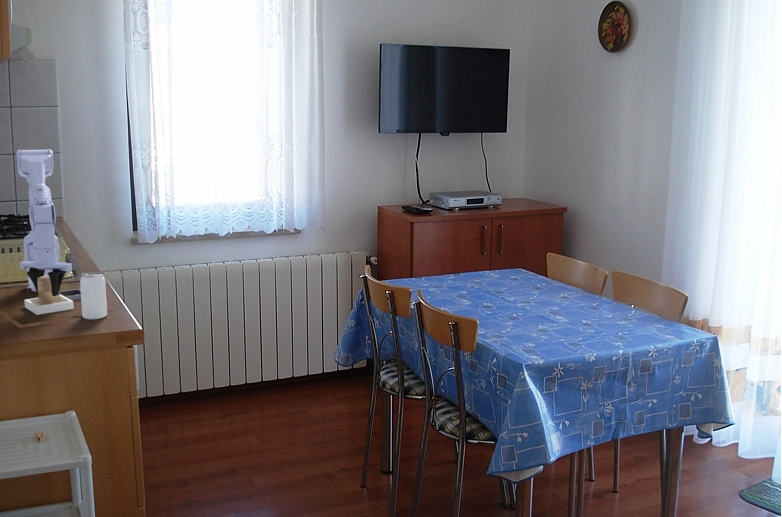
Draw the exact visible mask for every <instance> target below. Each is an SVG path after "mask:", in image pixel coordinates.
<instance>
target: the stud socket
mask: <svg viewBox="0 0 782 517" xmlns="http://www.w3.org/2000/svg"><path fill="white" fill-rule="evenodd" d="M59 291H60V294H61V295H63V296H65V297H66V298H68V299H70V300H72V301H73V302H77V301H81V290H80V288H74V289H68V290H67V289H66V290H59Z"/></svg>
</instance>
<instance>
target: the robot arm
mask: <svg viewBox="0 0 782 517" xmlns="http://www.w3.org/2000/svg"><path fill="white" fill-rule="evenodd" d="M15 154H16V163H17V172H18V175H19V176H20V177H23V178H25V179H26V182H27V183H28V188H29V189H28V200H29V207H28V214H29V216H28V217H29V224H30V227H31V232H30V233H28V234H27V235H26V236H24V238H23V253H24V254H23V255H24V260H23V261H20V262H19V267H20V270H27V271H26V276H27V279H28V289H31V291H32V292H35V293H36V294H37V295H38V283H37V278H39V277H42V276H45V275H49V278H50V281H51V287H52V295H53V296H57V295H59V291H61V290H60V289H61V285H62V282H63V279H64V277H65V275H66V273H67V272H71V271H72V270H73V263H69V262H62V261H59V260H60V246H59V239H58V236H57V235H56V232H55V229H56V228H55V225H56V221H57V217H56V208H55V205H54V202H53V201H52V193H51V192H52V191H51V189H50V187H48V186H47V185H46V179H47V178H48V177H50V176H53V173H54V166H55V162H54V160H55V159H54V153H53V150H52V149H51V148H48V149H17V150H16V153H15Z"/></svg>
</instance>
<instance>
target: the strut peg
mask: <svg viewBox="0 0 782 517" xmlns="http://www.w3.org/2000/svg"><path fill="white" fill-rule="evenodd" d="M37 283H38V294H37V298H39V306H40V305H47V304H53V303H60V291H61V290H59V295H57V296H53V295H52V287H51V281H50V278H49V275H45V276H42V277H39V278H37Z"/></svg>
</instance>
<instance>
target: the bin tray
mask: <svg viewBox="0 0 782 517" xmlns="http://www.w3.org/2000/svg"><path fill="white" fill-rule="evenodd" d="M24 308H25V309H27V310H29V311H30V312H32V313H33V314H35V315H44V314H50V313H57V312H64V311H68V310H74V308H75V307H74V301H72V300H70V299H68V298H66V297H65V296H63V295H61V294H60V303H53V304H47V305H40V306H39V297H34V298H33V297H32V298H27V299H24Z"/></svg>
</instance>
